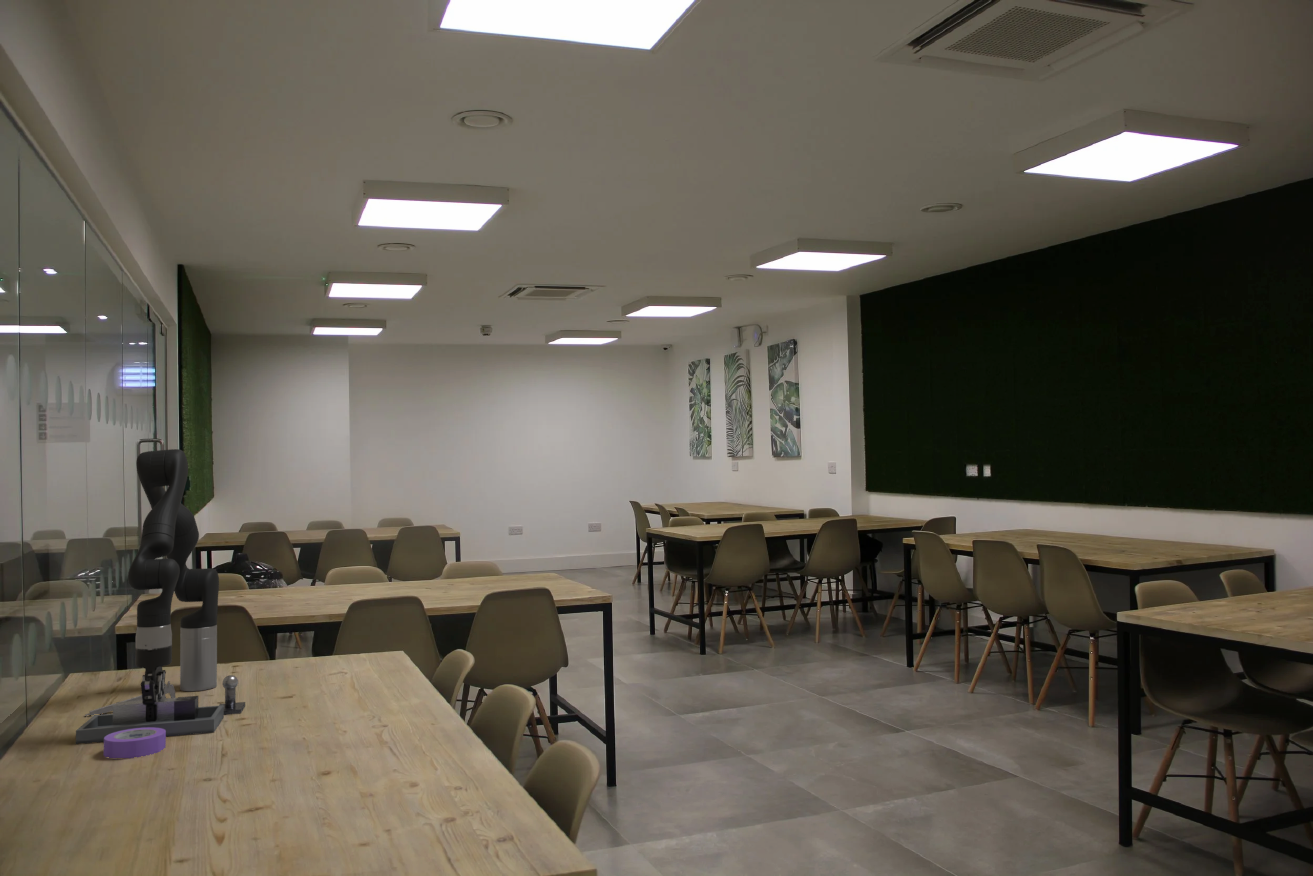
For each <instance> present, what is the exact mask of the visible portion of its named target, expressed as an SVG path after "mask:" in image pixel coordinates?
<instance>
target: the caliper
mask: <svg viewBox="0 0 1313 876" xmlns="http://www.w3.org/2000/svg"><path fill="white" fill-rule="evenodd" d="M168 694H169V696H170V698H176V689H175V687H174V684H172V683H171V681H169V680H168V681H167V683H165V685H164V695H162V696H163V698H162V699H166V698H167V696H166V695H168ZM149 697H150V696H148V699H149ZM139 700H142V694H140V695H137V696H135V697H131V698H128V699H125V700H121V701H120V702H125V701H139ZM115 703H116V702H115ZM115 703H111V704H108V705H106V706H102V707H99V708H95V709H93V710H89V712H88V713H86V714H84V715H85V716H87V715H94V714H101V715H103V714H102V713H104V714H108V713H110V712H113V705H114V704H115Z"/></svg>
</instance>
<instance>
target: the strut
mask: <svg viewBox="0 0 1313 876" xmlns="http://www.w3.org/2000/svg"><path fill="white" fill-rule="evenodd" d="M157 701H158V703H157V720H156V721H152V722H163V721H181V720H193V719H195V718H196V717H197V716H198V707H199V695H192V696H191V695H190V696H179V697H175V698H171V697H168V698H167V697H166V699H157ZM113 704H114V703H113ZM112 714H113V725H125V724H138V723H150V722H147V721H146V706H145V705H143V703H142V700H139V701H125V702H121V701H117V702H115V704H114V705H113V711H112Z"/></svg>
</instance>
